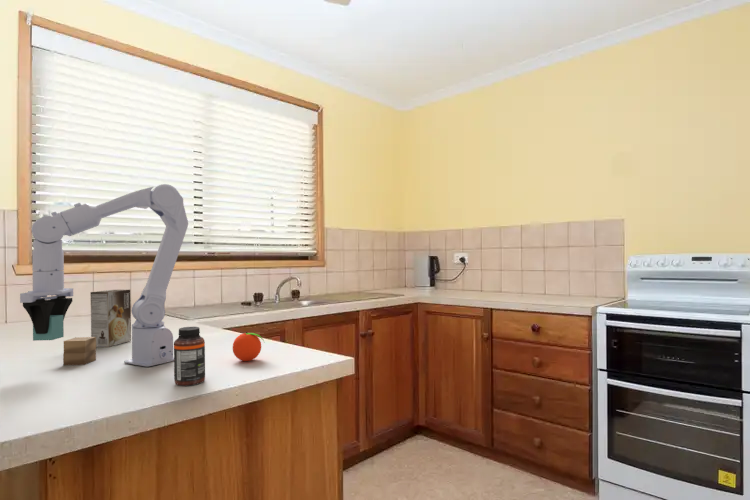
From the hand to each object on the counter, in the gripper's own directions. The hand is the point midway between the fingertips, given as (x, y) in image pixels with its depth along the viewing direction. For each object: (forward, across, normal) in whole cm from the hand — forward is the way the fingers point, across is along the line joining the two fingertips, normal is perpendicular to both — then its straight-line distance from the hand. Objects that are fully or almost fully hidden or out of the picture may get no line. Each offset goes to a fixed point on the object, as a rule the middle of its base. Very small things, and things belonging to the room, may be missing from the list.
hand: (48, 331), depth 101 cm
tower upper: (+7, -12, 0) cm, 13 cm away
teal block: (+2, 0, 0) cm, 2 cm away
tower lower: (+10, -12, 0) cm, 15 cm away
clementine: (+10, -10, +42) cm, 44 cm away
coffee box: (+10, -36, -5) cm, 37 cm away
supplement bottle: (+10, +9, +34) cm, 37 cm away
